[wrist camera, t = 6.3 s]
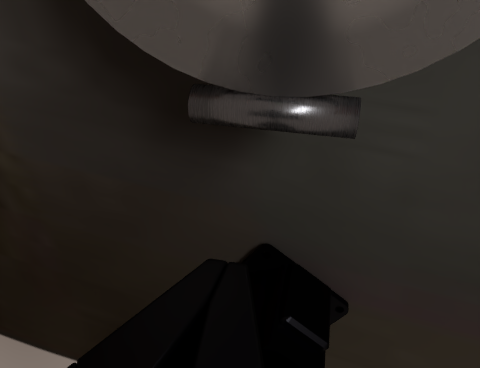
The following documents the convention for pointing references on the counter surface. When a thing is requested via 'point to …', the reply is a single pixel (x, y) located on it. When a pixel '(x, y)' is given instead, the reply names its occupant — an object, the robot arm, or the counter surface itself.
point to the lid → (291, 53)
